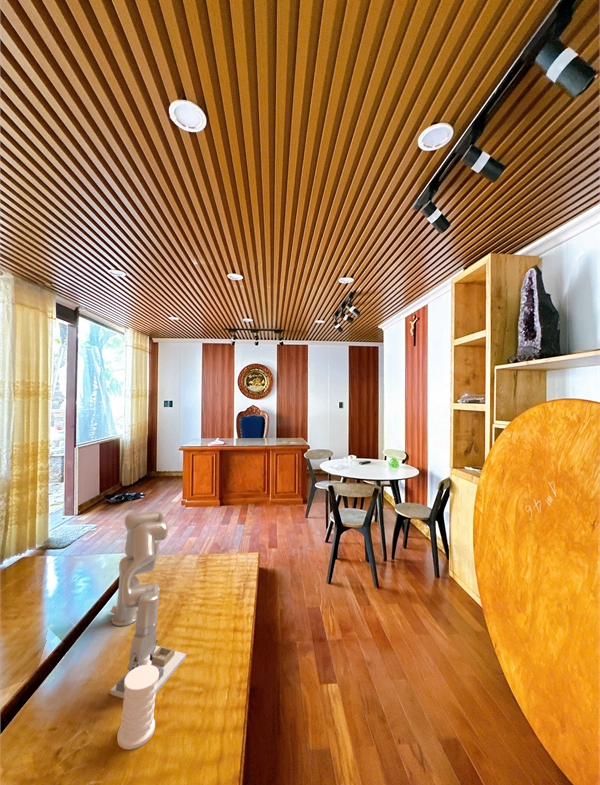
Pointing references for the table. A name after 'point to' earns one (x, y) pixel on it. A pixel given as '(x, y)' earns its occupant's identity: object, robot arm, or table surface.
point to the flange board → (163, 660)
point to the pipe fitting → (145, 662)
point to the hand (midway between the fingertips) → (141, 673)
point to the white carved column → (138, 707)
